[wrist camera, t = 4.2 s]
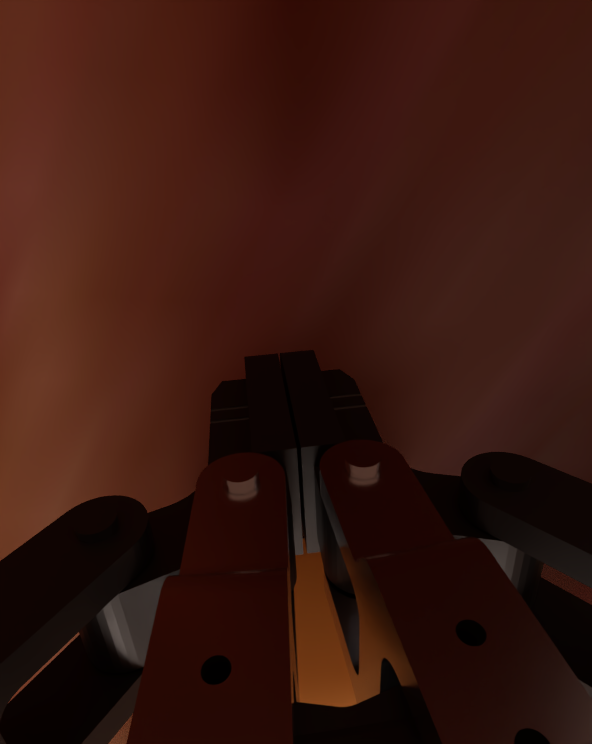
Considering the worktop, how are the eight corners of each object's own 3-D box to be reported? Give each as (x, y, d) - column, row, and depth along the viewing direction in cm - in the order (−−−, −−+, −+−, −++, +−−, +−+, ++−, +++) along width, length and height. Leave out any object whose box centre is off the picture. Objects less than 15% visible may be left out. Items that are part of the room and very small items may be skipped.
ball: (205, 629, 20) (202, 818, 15) (180, 511, 17) (164, 694, 12) (359, 605, 21) (407, 779, 15) (358, 486, 18) (418, 650, 13)
